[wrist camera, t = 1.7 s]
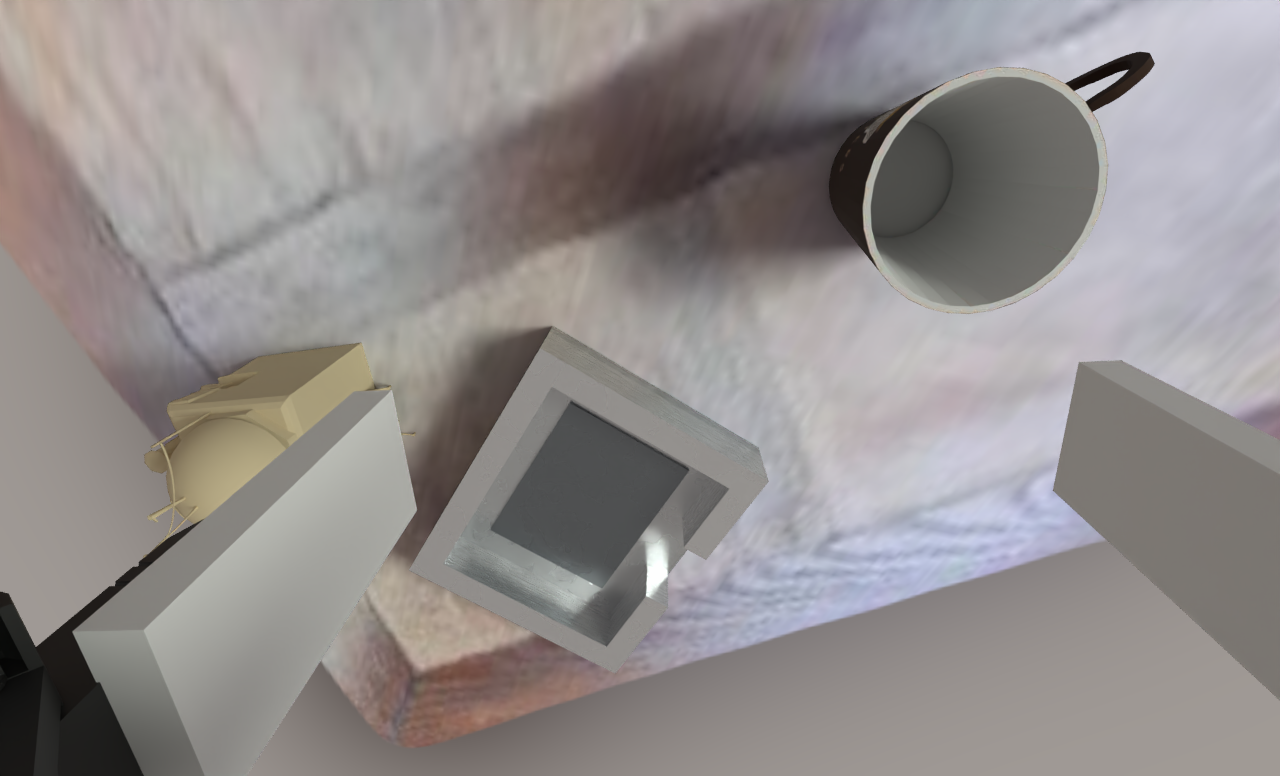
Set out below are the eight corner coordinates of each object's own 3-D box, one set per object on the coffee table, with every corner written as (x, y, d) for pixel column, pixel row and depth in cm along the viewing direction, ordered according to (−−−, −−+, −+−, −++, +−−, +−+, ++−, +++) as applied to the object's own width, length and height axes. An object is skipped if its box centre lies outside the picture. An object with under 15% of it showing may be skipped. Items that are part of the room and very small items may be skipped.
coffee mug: (817, 280, 35) (873, 333, 26) (796, 109, 32) (851, 99, 23) (1043, 234, 34) (1187, 272, 24) (1043, 52, 31) (1209, 17, 21)
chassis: (431, 531, 42) (408, 570, 38) (552, 326, 36) (540, 348, 33) (619, 627, 44) (615, 673, 40) (758, 448, 39) (768, 481, 35)
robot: (264, 481, 41) (57, 664, 27) (215, 359, 38) (-46, 492, 24) (425, 462, 40) (298, 640, 26) (388, 336, 37) (222, 459, 23)
